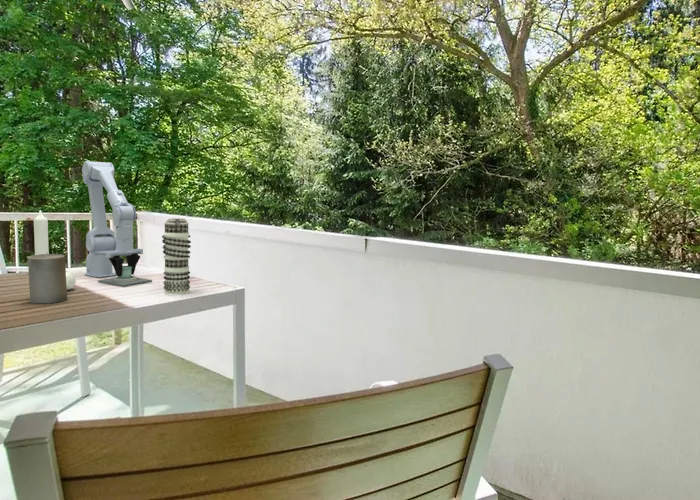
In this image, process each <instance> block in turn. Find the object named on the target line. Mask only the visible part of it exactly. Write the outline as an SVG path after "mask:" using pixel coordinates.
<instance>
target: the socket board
mask: <svg viewBox="0 0 700 500" xmlns="http://www.w3.org/2000/svg"><path fill="white" fill-rule="evenodd" d="M152 282H153V280H152V279H148V278H141V277H137V276H135V275H131V278H129V279H118V276H114V277H111V278H103V279H98V280H97V283H98V284H106V285H109V286H110V285H112V286H115V285H116V287H121V286H122V288H127V287H132V286H137V285H144V284H147V283H148V284H149V283H152Z"/></svg>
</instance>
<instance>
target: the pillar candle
mask: <svg viewBox="0 0 700 500" xmlns="http://www.w3.org/2000/svg"><path fill="white" fill-rule="evenodd" d="M47 253H48V252H47ZM47 253H46V254H40V255H35V254H33V255H29V256H27V264H28V268H27V269H28V284H29V285H28V287H29V301H30V303H31V304H55V303H61V302H63V301H64V302H65V301H66V300H67V299H68V290H67V285H66V271H67V269H66V257H65V254H63V253H62V254H61V253H49V254H47Z"/></svg>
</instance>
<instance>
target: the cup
mask: <svg viewBox="0 0 700 500" xmlns="http://www.w3.org/2000/svg"><path fill="white" fill-rule="evenodd" d="M131 269H132V266H128V265H122V276H121V277H119V276H118V279H129V278H131V276H132V275H131Z"/></svg>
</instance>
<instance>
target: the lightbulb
mask: <svg viewBox="0 0 700 500" xmlns="http://www.w3.org/2000/svg"><path fill="white" fill-rule="evenodd" d="M76 280H77V279H76V276H75V275H74V274H73V273H72V272H70V271H67V270H66V285H67V291H69V290H70V289H72V288H74V287H75V285H76Z"/></svg>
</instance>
